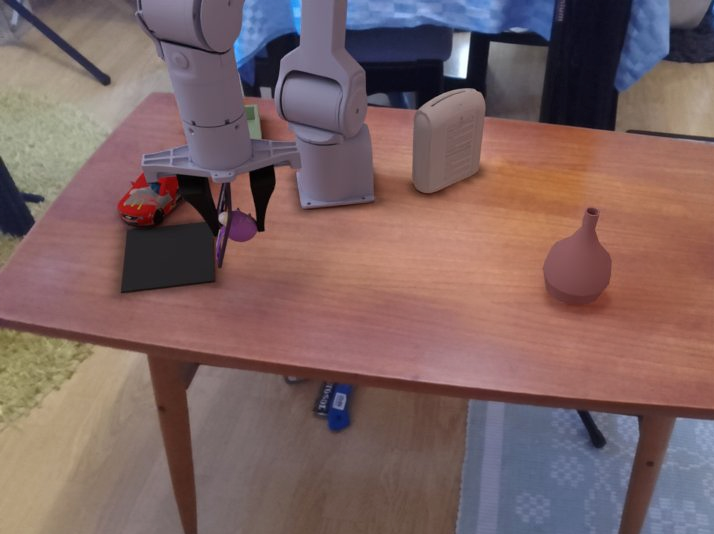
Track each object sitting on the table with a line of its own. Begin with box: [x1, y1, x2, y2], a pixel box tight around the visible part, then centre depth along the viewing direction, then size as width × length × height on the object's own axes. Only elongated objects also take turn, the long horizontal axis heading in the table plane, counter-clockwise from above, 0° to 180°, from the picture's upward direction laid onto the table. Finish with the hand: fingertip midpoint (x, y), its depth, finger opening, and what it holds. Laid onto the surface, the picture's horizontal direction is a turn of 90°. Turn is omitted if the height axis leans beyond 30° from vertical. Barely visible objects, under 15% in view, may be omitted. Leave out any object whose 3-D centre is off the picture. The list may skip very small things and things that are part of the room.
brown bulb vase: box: [542, 206, 613, 307], centre depth 75 cm, size 8×8×12 cm
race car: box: [116, 171, 184, 227], centre depth 86 cm, size 13×5×4 cm, turn 160°
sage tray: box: [244, 103, 263, 139], centre depth 96 cm, size 9×12×2 cm
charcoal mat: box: [120, 221, 215, 294], centre depth 80 cm, size 10×11×1 cm
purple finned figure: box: [215, 182, 261, 269], centre depth 71 cm, size 7×5×9 cm
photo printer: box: [411, 87, 487, 194], centre depth 89 cm, size 10×4×12 cm, turn 131°
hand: (238, 228), depth 72 cm, fingers closed on purple finned figure, 4 cm apart
